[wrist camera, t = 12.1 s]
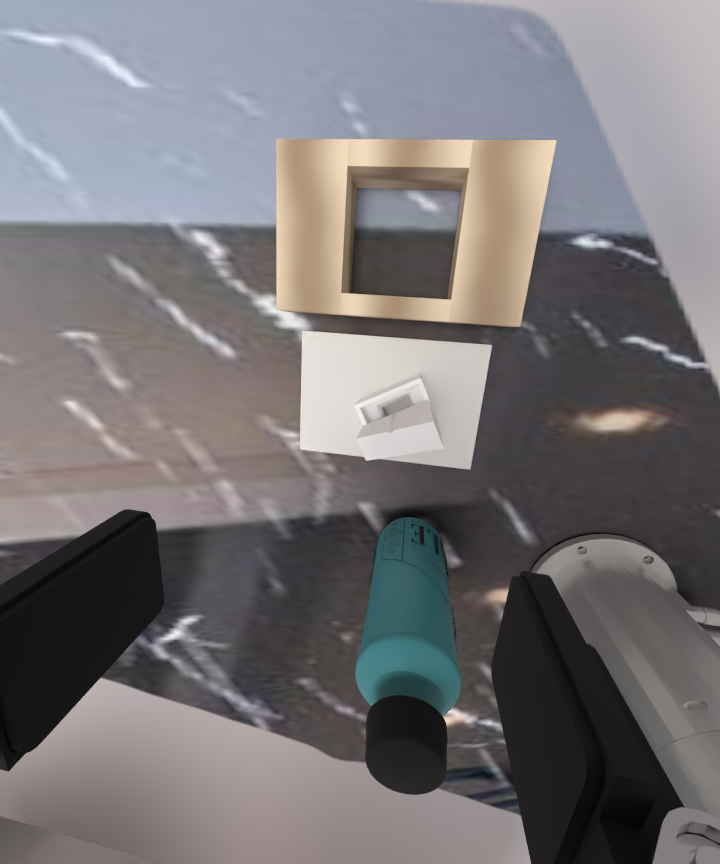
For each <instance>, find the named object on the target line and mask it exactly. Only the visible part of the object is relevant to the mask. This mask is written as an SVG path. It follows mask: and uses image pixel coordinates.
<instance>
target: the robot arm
mask: <svg viewBox="0 0 720 864" xmlns="http://www.w3.org/2000/svg"><path fill="white" fill-rule="evenodd" d="M163 603H164V593H163V584H162V575H161V566H160V558H159V549H158V540H157V531H156V523H155V521H154V520H153V519H152V518H151V515H150V514H149V513H147V512H142V511H136V510H129V509H127V510H123V511H121V512H119V513H118V514H116V515H114V516H113V517H111V518H109V519H108V520H106V521H104V522H103V523H101V524H100V525H98V526H96V527H95V528H93V529H91V530H90V531H88V532H87V533H85V534H83V535H82V536H80V537H78V538H77V539H75V540H73V541H72V542H70V543H69V544H67V545H65V546H64V547H62V548H60V549H59V550H57V551H56V552H54V553H52V554H51V555H49V556H47V557H46V558H44V559H43V560H41V561H39V562H38V563H36V564H34V565H33V566H31V567H29V568H28V569H26V570H25V571H23V572H21V573H20V574H18V575H16V576H15V577H13V578H12V579H10V580H8V581H7V582H5V583H3V584H2V585H0V769H1V770H5V771H10V769H11V768H12V767H13V766H14V765H15V764H16V763H17V762H18V761H19V760H20V759H21V758H22V756H23V755H24V754H25V753H27V752H30V751H32V750H33V749H35V748H36V747H37V746H38V745H39V744H40V743H41V742H42V741H43V740H44V739H45V738H46V737H47V735H49V733H50V732H51V731H52V730H53V729H54V728H55V727H56V726H57V725H58V724H59V722H60V721H61V720H62V719H63V718H64V717H65V716H66V715H67V714H68V713H69V711H70V710H71V709H72V708H73V707H74V706H75V705H76V704H77V703H78V701H80V699H81V698H82V697H83V696H84V695H85V694H86V693H87V692H88V691H89V689H90V688H91V687H92V686H93V685H94V684H95V683H96V682H97V681H98V680H99V679H100V677H101V676H102V675H103V674H104V673H105V672H106V671H107V670H108V669H109V668H110V667H111V665H112V664H113V663H114V662H115V661H116V660H117V659H118V658H119V657H120V656H121V654H122V653H123V652H124V651H125V650H126V649H127V648H128V647H129V646H130V645H131V643H132V642H133V641H134V640H135V639H136V638H137V637H138V636H139V635H140V634H141V633H142V631H143V630H144V629H145V628H146V627H147V626H148V625H149V624H150V623H151V622H152V620H153V619H154V618H155V617H156V616H157V615H158V614H159V612H160V611H161V609H162V607H163ZM697 622H699V623H701V624H707V625H713V626H720V611H719V610H717V609H714V608H708V607H702V606H690V604H689V603H688V602H687V601H686V600H685V599H684V598H683V597H682V596H681V595H680V594H679V593H678V592H677V584H676V581H675V578H674V575H673V573H672V571H671V570H670V568H669V567H668V565H667V564H666V563H665V562H664V561H663V560H662V559H661V558H660V557H659V556H658V555H657V554H656V553H655V552H654V551H652V550H651V549H650V548H648V547H647V546H645V545H644V544H642V543H640V542H638V541H636V540H633V539H630V538H627V537H623V536H618V535H611V534H592V535H586V536H580V537H576V538H573V539H570V540H567V541H565V542H563V543H561V544H559V545H557V546H555V547H553V548H552V549H551V550H549V551H548V552H547V553H545V554H544V555H543V556H542V557H541V558H540V559H539V560H538V562H537V563H536V564H535V565H534V567H533V569H532V571H531V572H526V571H523V572H521V574H520V576H519V577H517V576H513V577H512V579H511V583H510V587H509V592H508V596H507V600H506V604H505V609H504V613H503V617H502V621H501V626H500V630H499V634H498V638H497V643H496V647H495V651H494V656H493V660H492V680H493V685H494V690H495V694H496V699H497V704H498V709H499V713H500V718H501V723H502V728H503V732H504V737H505V742H506V746H507V751H508V756H509V761H510V765H511V770H512V775H513V779H514V784H515V789H516V794H517V798H518V803H519V808H520V812H521V817H522V821H523V827H524V831H525V836H526V841H527V845H528V850H529V855H530V859H531V864H720V631H717V630H711V629H705V628H702V627H701V626H700V625H699V624H698V623H697ZM0 864H160V863H156V862H153V861H150V860H146V859H143V858H140V857H136V856H133V855H130V854H126V853H123V852H120V851H116V850H113V849H110V848H106V847H103V846H99V845H96V844H92V843H89V842H86V841H82V840H79V839H76V838H72V837H69V836H66V835H62V834H59V833H55V832H52V831H49V830H45V829H42V828H38V827H35V826H32V825H28V824H25V823H21V822H18V821H14V820H11V819H8V818H4V817H1V816H0Z"/></svg>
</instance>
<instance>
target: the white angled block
mask: <svg viewBox="0 0 720 864" xmlns="http://www.w3.org/2000/svg"><path fill="white" fill-rule="evenodd" d="M404 398H407V401H408V403H409V406H410V407H409V408H406V409H404V410H401V411H399V412H396V413H394V414H391V415H389V416H388V414H387V412H386V410H385V407H384V406H387V405H389V404H392V403H394V402H397V401H399V400H401V399H404ZM354 407H355V409H356V411H357V413H358V416H359V418H360V420H361V422H362V424H363V427H362V429H361V430H360V432H359V434H358V436H357V438H356V440H357V442H358V444H359V446H360V449H361V451H362V453H363V455H364V457H365V459H366V461H368V460H374V459H380V458H387V457H393V456H400V455H406V454H413V453H419V452H425V451H432V450H438V449H444V445H443V440H442V436H441V432H440V427H439V423H438V418H437V414H436V410H435V408H434V405H433V403H432V400H431V398H430V395H429V393H428V391H427V388H426V386H425V383H424V381H423V378H422V376H421V373H418V374H416V375H414V376H411V377H409V378H407V379H404V380H402V381H400V382H397V383H395V384H392V385H390V386H388V387H385V388H383V389H381V390H378V391H376V392H373V393H371V394H369V395H366V396H364V397H362V398H360V399H359V400H358V401H357V402H356V404H355V405H354Z"/></svg>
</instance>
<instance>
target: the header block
mask: <svg viewBox="0 0 720 864" xmlns="http://www.w3.org/2000/svg"><path fill="white" fill-rule="evenodd" d="M556 141H557V140H387V139H277V310H281V311H289V312H300V313H314V314H329V315H343V316H357V317H372V318H386V319H400V320H415V321H429V322H444V323H458V324H472V325H487V326H501V327H520V326H521V320H522V315H523V310H524V305H525V300H526V295H527V290H528V284H529V279H530V274H531V269H532V264H533V259H534V254H535V248H536V243H537V238H538V233H539V228H540V223H541V218H542V212H543V207H544V202H545V197H546V192H547V187H548V182H549V176H550V171H551V166H552V161H553V156H554V151H555V146H556ZM357 188H366V189H410V190H454V191H462V192H461V200H460V207H459V215H458V222H457V230H456V237H455V245H454V252H453V260H452V267H451V275H450V282H449V290H448V297H447V299H431V298H415V297H398V296H382V295H366V294H351V285H352V267H353V250H354V232H355V215H356V197H357Z"/></svg>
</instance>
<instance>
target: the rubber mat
mask: <svg viewBox="0 0 720 864" xmlns="http://www.w3.org/2000/svg"><path fill="white" fill-rule="evenodd" d="M491 348H492V345H486V344H473V343H460V342H447V341H434V340H421V339H408V338H394V337H381V336H368V335H355V334H342V333H329V332H316V331H302V374H301V425H300V449H302V450H311V451H319V452H327V453H336V454H344V455H352V456H361V457H364V455H363V453H362V451H361V449H360V446H359V444H358V442H357V440H356V438H357V436H358V434H359V432H360V430H361V429H362V427H363V424H362V422H361V420H360V418H359V416H358V413H357V411H356V409H355V407H354V405H355V404H356V402H357V401H358V400H359V399H360V398H362V397H364V396H366V395H369V394H371V393H373V392H376V391H378V390H381V389H383V388H385V387H388V386H390V385H392V384H395V383H397V382H400V381H402V380H404V379H407V378H409V377H411V376H414V375H416V374H418V373H421V376H422V378H423V381H424V383H425V386H426V388H427V391H428V393H429V395H430V398H431V400H432V403H433V405H434V408H435V410H436V414H437V418H438V423H439V427H440V432H441V436H442V440H443V445H444V449H438V450H432V451H425V452H419V453H413V454H406V455H400V456H393V457H387V458H380V459H385V460H394V461H402V462H410V463H419V464H427V465H435V466H444V467H452V468H460V469H469V470H470V469H471V463H472V457H473V451H474V446H475V440H476V434H477V429H478V423H479V417H480V411H481V406H482V400H483V394H484V388H485V383H486V377H487V371H488V366H489V360H490V354H491ZM384 407H385V410H386V412H387V414H388V416H389V415H391V414H394V413H396V412H399V411H401V410H404V409H406V408H409V407H410V406H409V403H408V401H407V398H404V399H401V400H399V401H397V402H394V403H392V404H389V405H387V406H384Z"/></svg>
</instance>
